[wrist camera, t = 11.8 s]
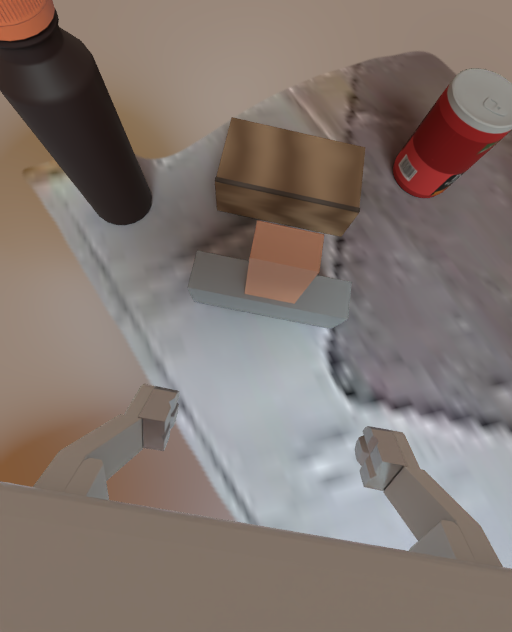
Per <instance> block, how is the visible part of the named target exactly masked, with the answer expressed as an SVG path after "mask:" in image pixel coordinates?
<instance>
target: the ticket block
mask: <svg viewBox="0 0 512 632" xmlns="http://www.w3.org/2000/svg"><path fill="white" fill-rule="evenodd" d="M364 156H365V147H361V146H356V145H352V144H347V143H343V142H338V141H334V140H330V139H325V138H321V137H316V136H312V135H307V134H303V133H299V132H294V131H290V130H285V129H281V128H277V127H272V126H268V125H263V124H259V123H254V122H250V121H246V120H241V119H237V118H231V122H230V126H229V130H228V134H227V138H226V141H225V145H224V149H223V153H222V157H221V161H220V164H219V168H218V172H217V176H216V178H215V189H216V201H217V210H218V211H223V212H227V213H232V214H237V215H241V216H246V217H251V218H256V219H260V220H265V221H270V222H274V223H279V224H284V225H288V226H293V227H298V228H303V229H307V230H312V231H317V232H321V233H326V234H331V235H335V236H340V237H341V236H342V235H343V234H344V232H345V231H346V230H347V228H348V227H349V226H350V224H351V223H352V222H353V220H354V219H355V218H356V216H357V215H358V214H359V212H360V208H359V205H360V196H361V186H362V176H363V166H364Z"/></svg>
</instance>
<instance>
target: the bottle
mask: <svg viewBox="0 0 512 632" xmlns="http://www.w3.org/2000/svg"><path fill="white" fill-rule="evenodd" d="M58 20H59V19H58V15H57V12H56V10H55V8H54V5H53V1H52V0H0V91H1V92H2V94H3V95H4V96H5V97H6V99H7V100H8V101H9V102H10V104H11V105H12V106H13V108H14V109H15V110H16V111H17V112H18V114H19V115H20V116H21V118H22V119H23V120H24V121H25V123H26V124H27V125H28V127H29V128H30V129H31V130H32V132H33V133H34V134H35V135H36V137H37V138H38V139H39V140H40V142H41V143H42V144H43V145H44V147H45V148H46V149H47V150H48V152H49V153H50V154H51V156H52V157H53V158H54V159H55V161H56V162H57V163H58V164H59V166H60V167H61V168H62V169H63V171H64V172H65V173H66V175H67V176H68V177H69V178H70V180H71V181H72V182H73V183H74V185H75V186H76V187H77V188H78V190H79V191H80V192H81V193H82V195H83V196H84V197H85V199H86V200H87V201H88V202H89V204H90V205H91V206H92V207H93V209H94V210H95V211H96V212H97V214H98V215H99V216H100V217H101V218H103V219H104V220H105V221H107V222H109V223H112V224H116V225H128V224H132V223H135V222H137V221H138V220H140V219H142V218H143V217H144V216H145V215H146V214H147V213H148V211H149V209H150V206H151V199H152V196H151V193H150V190H149V187H148V185H147V182H146V180H145V178H144V175H143V173H142V171H141V168H140V166H139V164H138V161H137V159H136V157H135V154H134V152H133V150H132V147H131V145H130V142H129V140H128V138H127V135H126V133H125V131H124V128H123V126H122V124H121V121H120V119H119V116H118V114H117V112H116V109H115V107H114V105H113V102H112V100H111V98H110V96H109V93H108V91H107V88H106V86H105V83H104V81H103V79H102V76H101V74H100V72H99V69H98V67H97V65H96V62H95V60H94V58H93V56H92V54H91V53H90V51H89V50H88V49H87V48H86V46H85V45H84V44H83V43H82V41H80V40H79V39H77V38H76V37H74V36H73V35H71V34H70V33H68V32H66V31H64V30H63V29H61V28H60V27H59V26H58Z"/></svg>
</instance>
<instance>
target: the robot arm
mask: <svg viewBox="0 0 512 632" xmlns="http://www.w3.org/2000/svg"><path fill="white" fill-rule="evenodd" d="M178 399H179V391H177V390H172V389H167V388H163V387H158V386H153V385H148V384H143V385H142V386H141V387H140V389H139V390H138V392H137V394H136V395H135V397H134V399H133V401H132V402H131V404H130V406H129V407H128V409H127V411H126V412H125V414H124V415H121V414H120V415H118V416H117V417H115V418H113V419H112V420H110V421H108V422H107V423H105V424H103V425H102V426H100V427H98V428H97V429H95V430H94V431H92V432H90V433H89V434H87V435H85V436H84V437H82V438H81V439H79V440H77V441H75V442H74V443H72V444H70V445H69V446H67V447H65V448H64V449H62V450H61V451H59V452H58V454H57V455H56V456H55V458H54V459H53V461H52V462H51V463H50V465H49V466H48V467H47V469H46V470H45V471H44V473H43V474H42V476H41V477H40V478H39V480H38V481H37V482H36V484H35V485H34V486H33V487H29V486H23V485H18V484H12V483H6V482H0V632H512V569H511V568H505V567H503V566H502V564H501V563H500V561H499V559H498V557H497V555H496V553H495V552H494V550H493V548H492V546H491V544H490V542H489V541H488V539H487V537H486V535H485V533H484V531H483V530H482V528H481V526H480V525H479V524H478V523H477V522H476V521H475V520H474V519H473V518H472V517H471V516H470V515H469V514H468V513H467V512H466V511H465V510H464V509H463V508H462V507H461V506H460V505H459V504H458V503H457V502H456V501H455V500H454V499H453V498H452V497H451V496H450V495H449V494H448V493H447V492H446V491H445V490H444V489H443V488H442V487H441V486H440V485H439V484H438V483H437V482H436V481H435V480H434V479H433V478H432V477H431V476H429V475H428V474H427V473H426V472H425V471H424V470H422V469H420V467H419V465H418V463H417V461H416V459H415V456H414V454H413V452H412V450H411V448H410V446H409V443H408V441H407V439H406V437H405V435H404V434H403V433H402V432H397V431H392V430H387V429H381V428H375V427H370V426H367V427H365V429H364V430H363V434H364V435H363V436H361V437H359V438H358V440H357V442H356V446H355V455H356V459H357V461H358V462H359V463H360V465H361V466H362V467H361V469H360V474H361V478H362V482H363V486H364V487H367V488H372V489H377V490H381V491H384V494H385V495H386V496H387V498H388V499H389V501H390V502H391V503H392V505H393V506H394V508H395V509H396V510H397V512H398V513H399V515H400V516H401V517H402V519H403V520H404V522H405V523H406V524H407V526H408V527H409V529H410V530H411V532H412V533H413V534H414V536H415V537H416V539H417V540H418V542H417V543H415V544H414V545H413V546H412V547H411V548H410V550H409V551H405V550H399V549H393V548H387V547H381V546H375V545H369V544H363V543H358V542H352V541H346V540H340V539H334V538H329V537H323V536H317V535H311V534H305V533H299V532H294V531H288V530H282V529H276V528H270V527H264V526H258V525H252V524H246V523H241V522H235V521H229V520H223V519H217V518H211V517H205V516H199V515H193V514H188V513H182V512H176V511H170V510H164V509H158V508H152V507H147V506H141V505H135V504H129V503H123V502H117V501H111V500H109V498H108V491H107V484H106V481H107V480H108V479H109V478H110V477H111V476H112V475H114V474H115V473H116V472H117V471H118V470H119V469H120V468H121V467H123V466H124V465H125V464H126V463H127V462H128V461H130V460H131V459H132V458H133V457H134V456H135V455H136V454H138V453H139V452H140V451H141V450H142V449H143V448H147V449H154V450H160V451H164V449H165V447H166V444H167V442H168V439H169V436H170V429H171V428H172V427H173V426H174V423H175V421H176V417H177V414H178V407H179V404H178V403H177V401H178Z"/></svg>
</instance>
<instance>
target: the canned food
mask: <svg viewBox="0 0 512 632" xmlns="http://www.w3.org/2000/svg"><path fill="white" fill-rule="evenodd" d="M511 130H512V83H510V82H509V81H508V80H507V79H506V78H504V77H502V76H501V75H499V74H496V73H494V72H492V71H489V70H486V69H479V68H471V69H466V70H464V71H461V72H460V73H459V74H457V75H456V77H455V78H454V79H453V80H452V81H451V83H450V84H449V85H448V87H447V88H446V89H445V91H444V92H443V93H442V95H441V96H440V97H439V99H438V100H437V101H436V103H435V104H434V106H433V107H432V108H431V110H430V111H429V113H428V114H427V115H426V117H425V118H424V120H423V121H422V122H421V124H420V125H419V126H418V128H417V129H416V131H415V132H414V133H413V135H412V136H411V138H410V139H409V140H408V142H407V143H406V145H405V146H404V147H403V149H402V150H401V151H400V153H399V154H398V156H397V157H396V160H395V163H394V166H393V174H394V177H395V179H396V181H397V183H398V184H399V186H400V187H401V188H402V189H403V190H404V191H406V192H407V193H409V194H411V195H413V196H416V197H419V198H430V197H434V196H436V195H438V194H440V193H442V192H443V191H444V190H446V189H447V188H448V187H449V186H450V185H451V184H452V183H453V182H454V181H456V180H457V179H458V178H459V177H460V176H461V175H462V174H463V173H464V172H466V171H467V170H468V169H469V168H470V167H471V166H472V165H473V164H474V163H476V162H477V161H478V160H479V159H480V158H481V157H482V156H483V155H484V154H486V153H487V152H488V151H489V150H490V149H491V148H492V147H493V146H494V145H496V144H497V143H498V142H499V141H500V140H501V139H502V138H503V137H504V136H506V135H507V134H508V133H509V132H510V131H511Z"/></svg>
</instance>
